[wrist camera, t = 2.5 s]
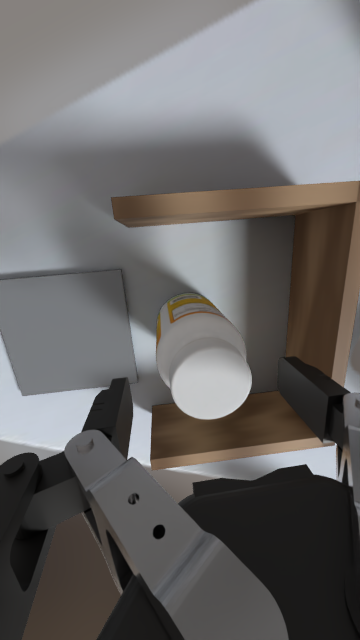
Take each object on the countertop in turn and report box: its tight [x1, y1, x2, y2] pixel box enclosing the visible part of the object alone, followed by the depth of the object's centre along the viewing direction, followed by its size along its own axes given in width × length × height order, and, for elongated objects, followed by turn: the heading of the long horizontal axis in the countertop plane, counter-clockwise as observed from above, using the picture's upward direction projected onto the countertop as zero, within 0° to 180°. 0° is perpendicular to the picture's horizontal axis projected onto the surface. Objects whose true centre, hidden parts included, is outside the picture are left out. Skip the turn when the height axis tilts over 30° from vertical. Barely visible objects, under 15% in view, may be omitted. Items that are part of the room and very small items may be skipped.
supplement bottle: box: [156, 293, 252, 419], centre depth 16 cm, size 5×5×10 cm
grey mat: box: [0, 269, 138, 396], centre depth 20 cm, size 10×10×1 cm
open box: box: [111, 181, 360, 470], centre depth 18 cm, size 14×18×6 cm
